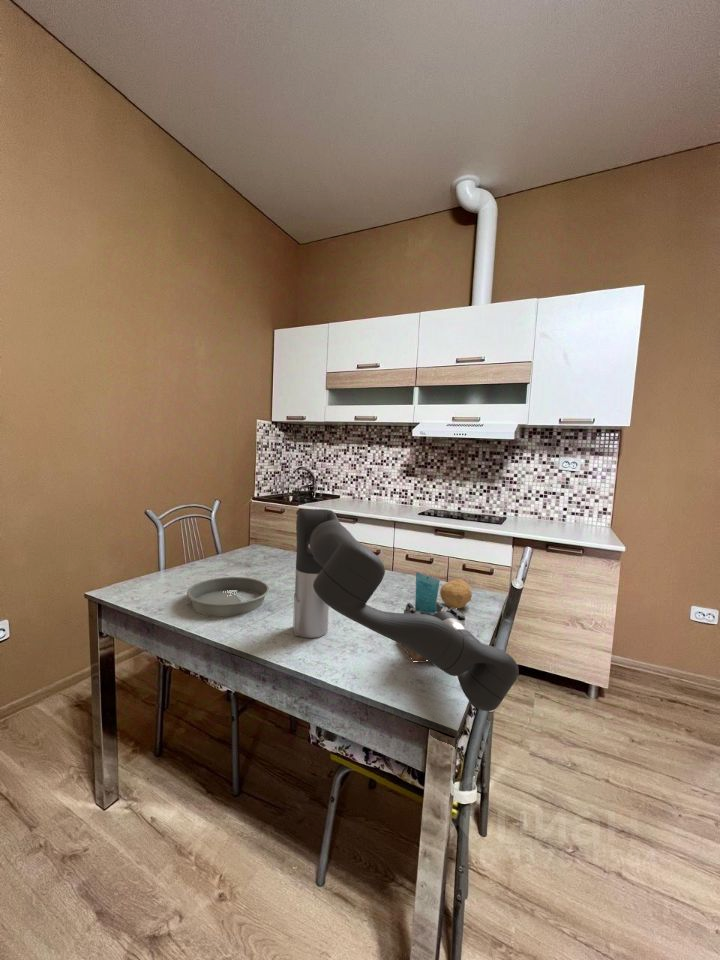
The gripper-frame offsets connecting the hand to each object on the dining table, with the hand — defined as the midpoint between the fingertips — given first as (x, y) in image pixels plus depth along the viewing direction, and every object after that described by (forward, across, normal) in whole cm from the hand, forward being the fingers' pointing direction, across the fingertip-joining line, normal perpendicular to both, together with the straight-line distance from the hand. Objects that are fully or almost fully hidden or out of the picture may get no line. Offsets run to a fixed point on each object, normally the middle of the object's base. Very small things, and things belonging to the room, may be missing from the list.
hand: (422, 606), depth 105 cm
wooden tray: (-2, 0, +10) cm, 11 cm away
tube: (-2, 0, +11) cm, 11 cm away
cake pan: (+35, +50, +11) cm, 62 cm away
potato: (+24, -21, +11) cm, 34 cm away
